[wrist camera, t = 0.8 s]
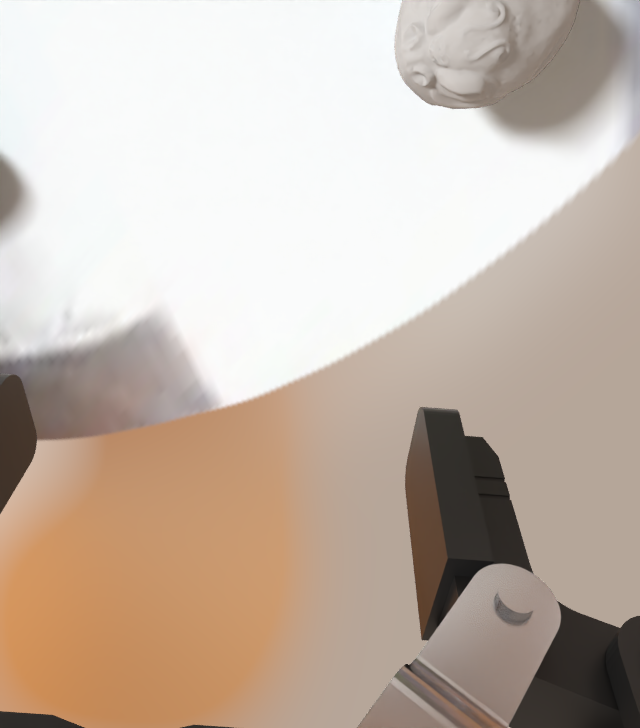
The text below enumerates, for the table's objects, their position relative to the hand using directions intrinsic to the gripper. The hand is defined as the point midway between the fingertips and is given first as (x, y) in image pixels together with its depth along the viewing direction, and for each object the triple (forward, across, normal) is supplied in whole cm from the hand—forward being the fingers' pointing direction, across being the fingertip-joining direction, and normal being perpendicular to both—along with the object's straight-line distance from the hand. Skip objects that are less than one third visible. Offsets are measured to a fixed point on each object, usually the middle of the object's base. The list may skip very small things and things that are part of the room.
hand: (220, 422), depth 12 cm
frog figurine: (+21, -7, -6) cm, 23 cm away
